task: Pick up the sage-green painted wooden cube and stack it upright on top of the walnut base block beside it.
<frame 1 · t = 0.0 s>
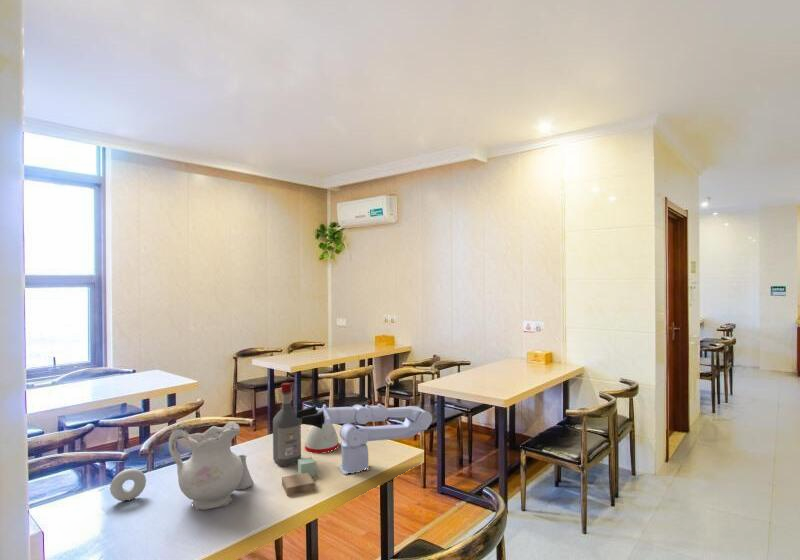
hand: (299, 417, 161), 22 cm above the table, tool horizontal, fingers open, 7 cm apart
sage cube: (306, 474, 165), on the table
liquor: (287, 461, 177), on the table
flask: (241, 486, 157), on the table
walnut base: (298, 488, 155), on the table
white bell: (321, 447, 192), on the table
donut: (128, 500, 147), on the table
ceramic pitcher: (207, 501, 146), on the table
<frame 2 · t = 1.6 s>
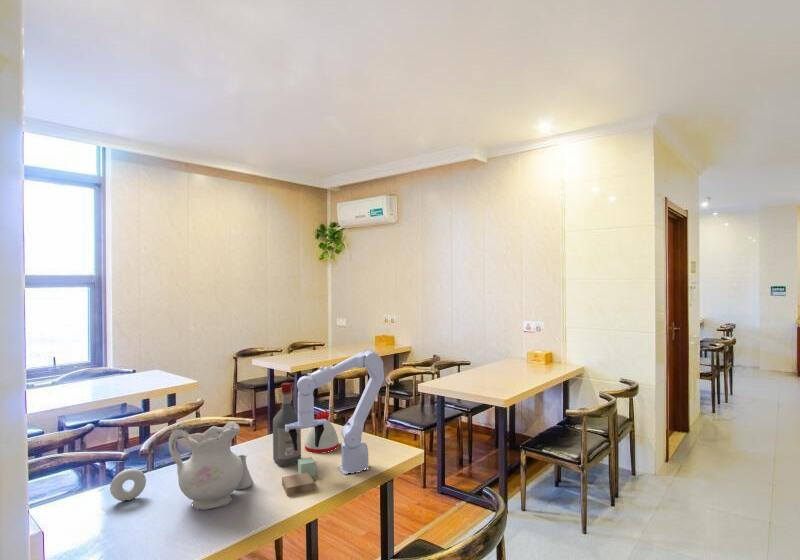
hand: (306, 448, 165), 9 cm above the table, tool pointing down, fingers open, 7 cm apart
nothing on the table moved.
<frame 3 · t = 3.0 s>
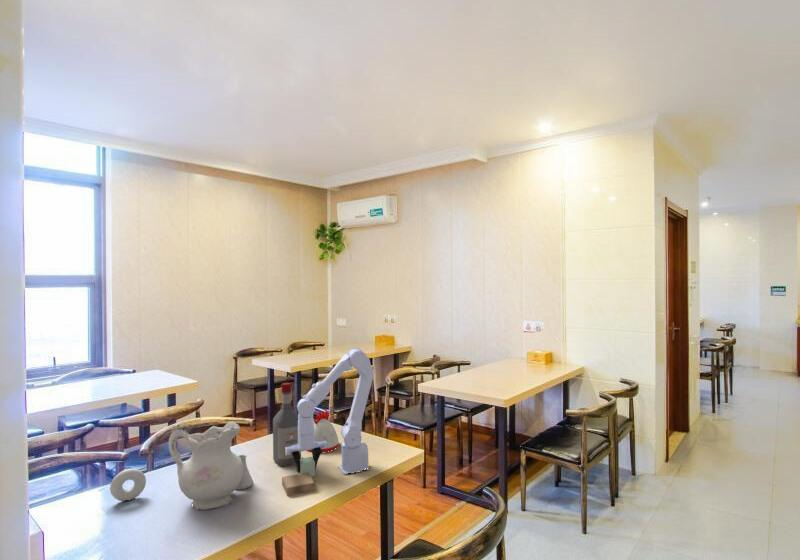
hand: (306, 470, 165), 1 cm above the table, tool pointing down, fingers closed on sage cube, 5 cm apart
sage cube: (306, 474, 165), on the table, touching gripper
everything else where it was.
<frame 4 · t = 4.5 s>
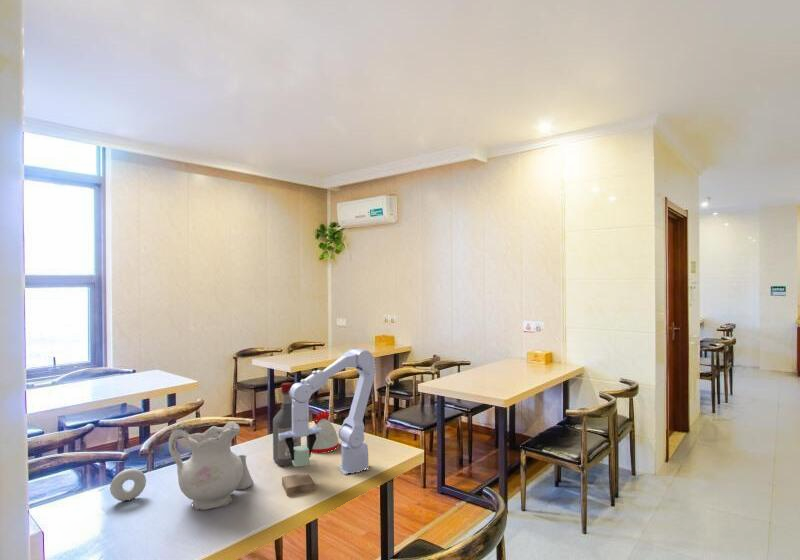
hand: (300, 457, 158), 8 cm above the table, tool pointing down, fingers closed on sage cube, 5 cm apart
sage cube: (300, 463, 158), point 7 cm above the table, touching gripper
everything else where it was.
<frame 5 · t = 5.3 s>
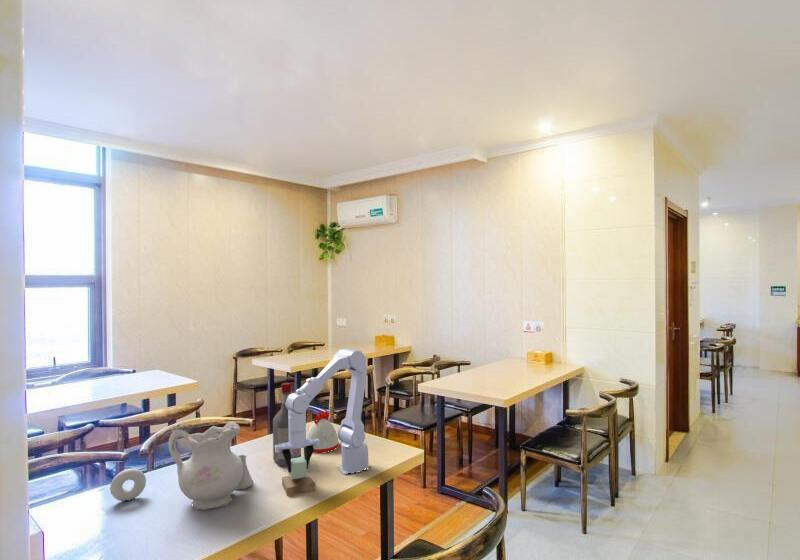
hand: (297, 469, 154), 6 cm above the table, tool pointing down, fingers closed on sage cube, 5 cm apart
sage cube: (297, 475, 155), point 4 cm above the table, touching gripper
everything else where it was.
when the fingers open (6 cm above the table, at t = 6.1 s): sage cube drops 1 cm, point 3 cm above the table.
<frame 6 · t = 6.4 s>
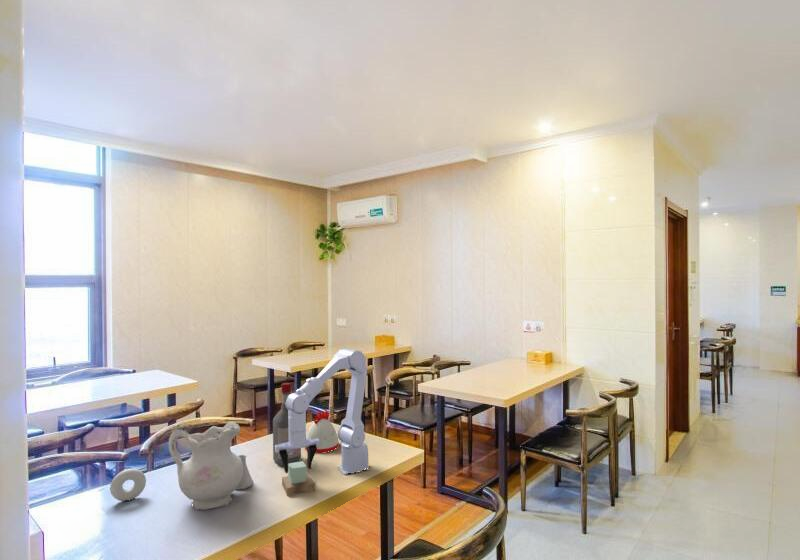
hand: (297, 469, 154), 6 cm above the table, tool pointing down, fingers open, 7 cm apart
sage cube: (297, 479, 155), point 3 cm above the table
everything else where it was.
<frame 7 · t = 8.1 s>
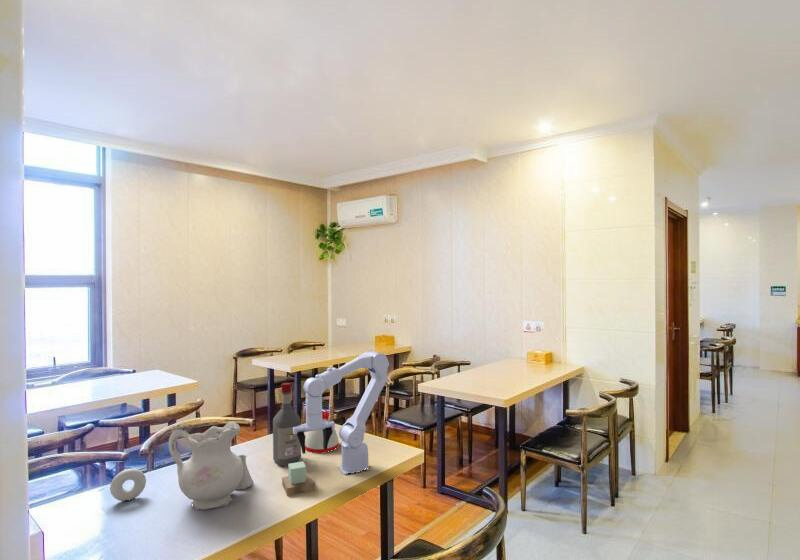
hand: (314, 451, 162), 9 cm above the table, tool pointing down, fingers open, 7 cm apart
sage cube: (297, 480, 155), point 2 cm above the table, touching walnut base
walnut base: (298, 488, 155), on the table, touching sage cube
everything else where it was.
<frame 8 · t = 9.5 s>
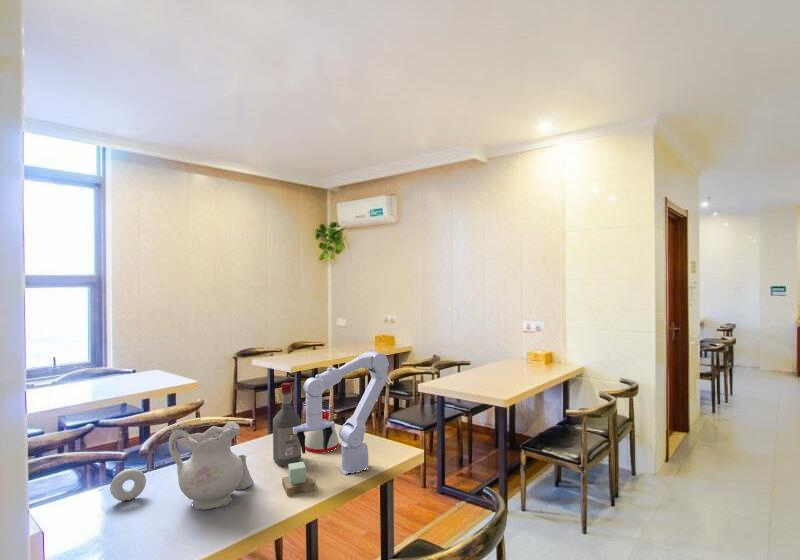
hand: (314, 451, 162), 9 cm above the table, tool pointing down, fingers open, 7 cm apart
nothing on the table moved.
at the end: sage cube 0.3 cm off-centre on the walnut base, point 3.0 cm above the walnut base's base; sage cube tilted 0°; the gripper is holding nothing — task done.
